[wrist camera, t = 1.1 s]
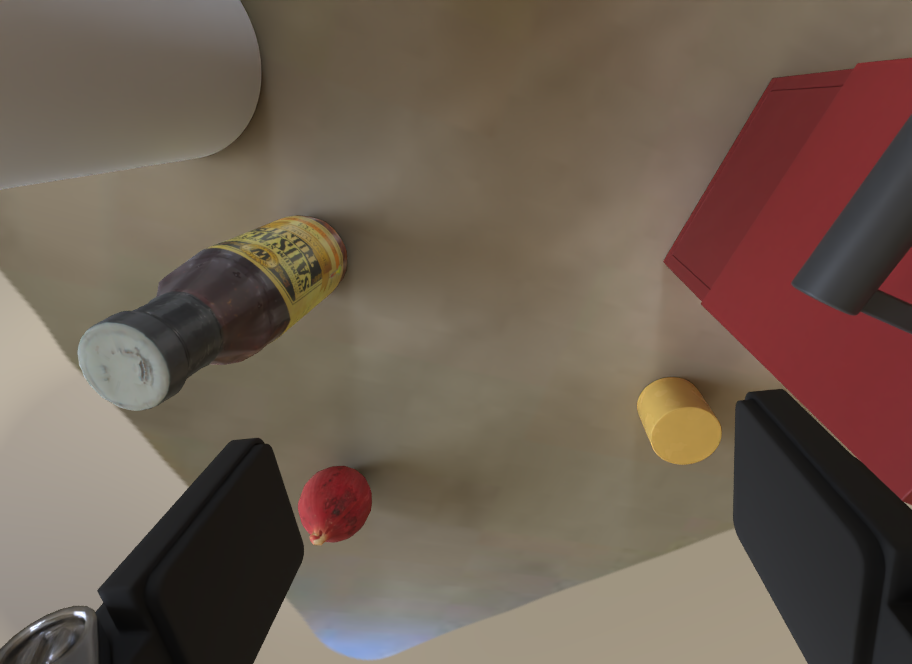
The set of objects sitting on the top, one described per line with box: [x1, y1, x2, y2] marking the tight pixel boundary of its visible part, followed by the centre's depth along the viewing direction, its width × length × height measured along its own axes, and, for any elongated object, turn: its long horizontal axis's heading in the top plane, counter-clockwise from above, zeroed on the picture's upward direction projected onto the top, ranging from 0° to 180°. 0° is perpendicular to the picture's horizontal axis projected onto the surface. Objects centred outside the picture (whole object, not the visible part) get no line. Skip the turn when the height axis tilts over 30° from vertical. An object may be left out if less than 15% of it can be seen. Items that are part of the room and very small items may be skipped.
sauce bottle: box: [78, 215, 347, 411], centre depth 30 cm, size 6×6×20 cm
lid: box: [701, 58, 912, 505], centre depth 19 cm, size 16×13×6 cm
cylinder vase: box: [0, 0, 261, 189], centre depth 24 cm, size 12×12×25 cm
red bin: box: [663, 69, 853, 301], centre depth 31 cm, size 15×13×9 cm
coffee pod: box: [637, 377, 722, 464], centre depth 39 cm, size 5×5×4 cm
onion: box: [298, 466, 372, 545], centre depth 44 cm, size 6×6×8 cm
